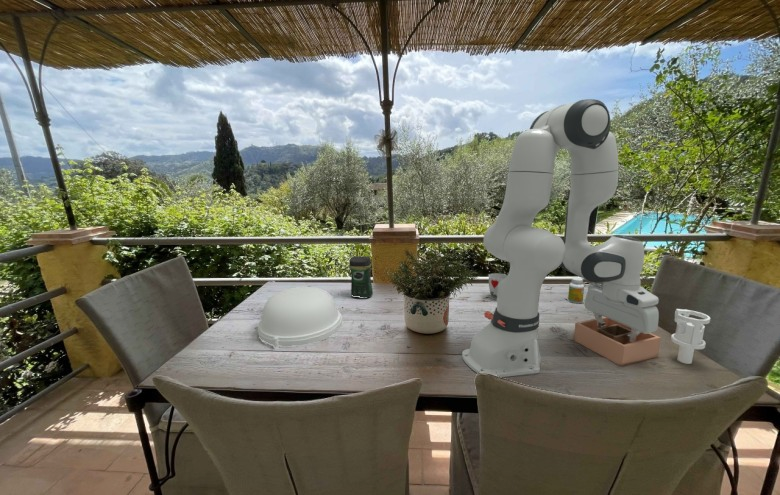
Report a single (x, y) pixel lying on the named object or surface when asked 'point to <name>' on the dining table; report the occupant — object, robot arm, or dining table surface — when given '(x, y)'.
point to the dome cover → (299, 317)
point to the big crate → (616, 343)
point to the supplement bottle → (576, 290)
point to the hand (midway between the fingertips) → (615, 334)
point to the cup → (495, 283)
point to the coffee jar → (360, 276)
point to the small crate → (616, 333)
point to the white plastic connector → (689, 333)
